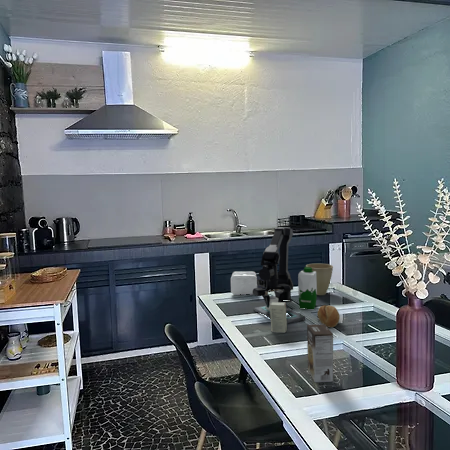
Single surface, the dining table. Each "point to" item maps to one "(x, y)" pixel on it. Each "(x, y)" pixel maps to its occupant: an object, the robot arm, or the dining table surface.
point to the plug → (272, 299)
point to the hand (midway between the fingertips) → (272, 306)
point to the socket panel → (294, 315)
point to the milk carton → (307, 288)
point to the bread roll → (328, 315)
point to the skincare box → (278, 317)
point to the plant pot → (322, 276)
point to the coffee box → (320, 352)
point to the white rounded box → (243, 283)
